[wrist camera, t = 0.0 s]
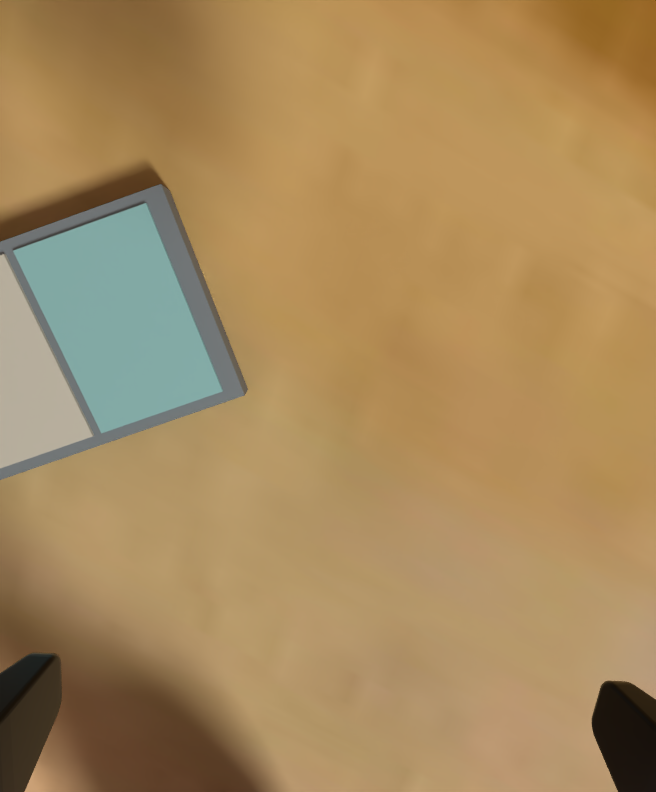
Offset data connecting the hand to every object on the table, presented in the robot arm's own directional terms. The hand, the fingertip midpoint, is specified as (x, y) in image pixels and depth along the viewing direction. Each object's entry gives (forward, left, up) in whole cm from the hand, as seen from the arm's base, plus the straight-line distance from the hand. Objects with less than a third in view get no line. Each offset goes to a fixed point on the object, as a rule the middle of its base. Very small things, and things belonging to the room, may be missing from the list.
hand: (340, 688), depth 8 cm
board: (+2, +14, -15) cm, 20 cm away
